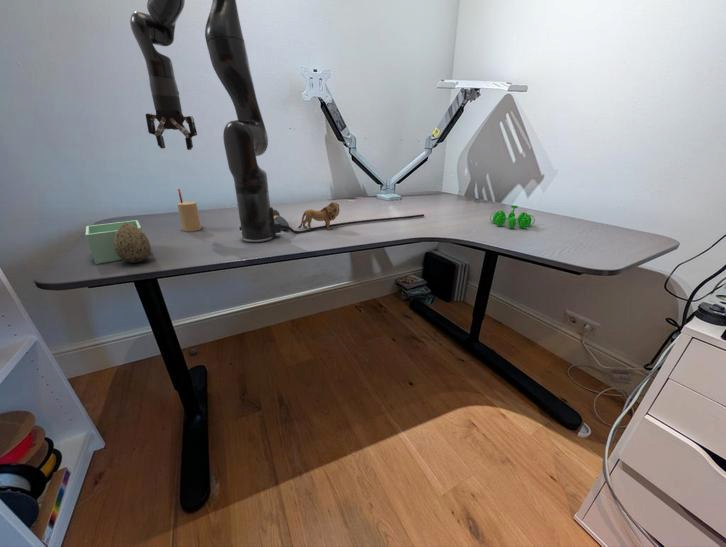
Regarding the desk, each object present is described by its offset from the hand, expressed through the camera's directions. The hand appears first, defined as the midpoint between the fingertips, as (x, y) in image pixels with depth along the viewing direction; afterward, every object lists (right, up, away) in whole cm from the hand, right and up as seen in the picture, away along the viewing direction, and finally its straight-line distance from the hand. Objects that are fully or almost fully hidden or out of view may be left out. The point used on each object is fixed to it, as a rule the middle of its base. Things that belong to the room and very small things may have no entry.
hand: (176, 149), depth 106 cm
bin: (-1, -37, -22) cm, 44 cm away
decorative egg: (+7, -40, -28) cm, 49 cm away
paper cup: (+5, -27, +1) cm, 28 cm away
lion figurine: (+49, -27, +3) cm, 56 cm away
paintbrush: (+34, -25, +6) cm, 42 cm away
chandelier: (+119, -25, +10) cm, 122 cm away
